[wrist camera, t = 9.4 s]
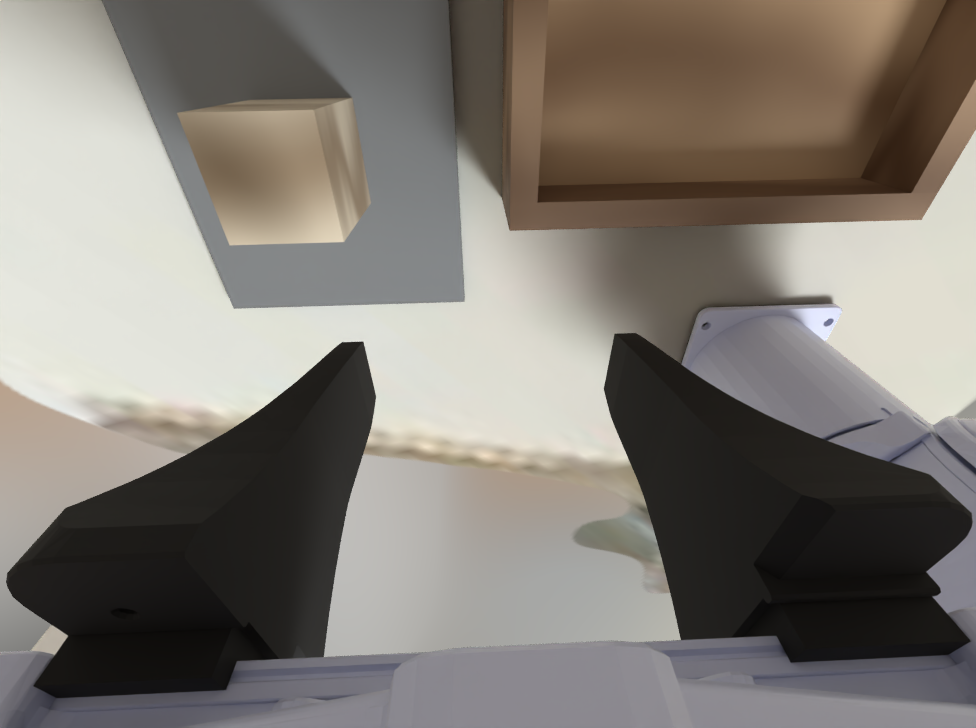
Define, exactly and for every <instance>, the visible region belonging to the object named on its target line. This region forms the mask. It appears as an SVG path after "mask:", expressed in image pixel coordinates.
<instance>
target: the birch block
mask: <svg viewBox="0 0 976 728" xmlns="http://www.w3.org/2000/svg"><path fill="white" fill-rule="evenodd" d="M177 114H178V117H179V119H180V122H181V124H182V127H183V129H184V132H185V134H186V137H187V140H188V142H189V145H190V147H191V150H192V152H193V155H194V157H195V160H196V162H197V165H198V167H199V170H200V172H201V175H202V177H203V180H204V182H205V185H206V187H207V190H208V192H209V195H210V197H211V200H212V202H213V205H214V207H215V210H216V212H217V215H218V218H219V220H220V223H221V225H222V228H223V230H224V233H225V235H226V238H227V240H228V243H229V245H260V244H295V243H330V242H344V241H345V240H346V238H347V237H348V235H349V234H350V233H351V231H352V230H353V228H354V227H355V225H356V224H357V222H358V221H359V220H360V218H361V217H362V215H363V214H364V212H365V211H366V210H367V208H368V207H369V205H370V204H371V200H370V194H369V189H368V183H367V177H366V172H365V166H364V160H363V155H362V149H361V144H360V138H359V132H358V127H357V121H356V115H355V110H354V104H353V99H352V98H315V99H269V100H247V101H241V102H235V103H230V104H224V105H218V106H213V107H207V108H201V109H196V110H190V111H185V112H179V113H177Z"/></svg>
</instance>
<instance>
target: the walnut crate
mask: <svg viewBox="0 0 976 728" xmlns="http://www.w3.org/2000/svg"><path fill="white" fill-rule="evenodd" d="M975 130H976V0H503V138H502V200H503V204H504V209H505V213H506V217H507V221H508V225H509V230H510V231H511V230H549V229H587V228H625V227H663V226H701V225H739V224H777V223H815V222H853V221H891V220H922V218H923V216H924V215H925V213H926V211H927V210H928V208H929V206H930V205H931V203H932V201H933V200H934V198H935V196H936V195H937V193H938V191H939V190H940V188H941V186H942V185H943V183H944V181H945V180H946V178H947V176H948V175H949V173H950V171H951V170H952V168H953V166H954V165H955V163H956V161H957V160H958V158H959V156H960V155H961V153H962V151H963V150H964V148H965V146H966V145H967V143H968V141H969V140H970V138H971V136H972V135H973V133H974V131H975Z"/></svg>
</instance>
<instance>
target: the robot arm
mask: <svg viewBox="0 0 976 728" xmlns="http://www.w3.org/2000/svg"><path fill="white" fill-rule="evenodd" d="M841 312H842V309H841V308H840V307H839V306H838V305H836V304H809V305H777V306H744V307H711V308H705V309H703V310H701V311H700V312H699V313H698V315H697V318H696V321H695V324H694V327H693V330H692V333H691V336H690V339H689V343H688V346H687V349H686V352H685V355H684V358H683V361H682V364H680V363H678V362H677V361H675V360H674V359H673V358H671V357H670V356H668V355H667V354H666V353H664V352H663V351H661V350H660V349H659V348H657V347H656V346H654V345H653V344H652V343H650V342H649V341H647V340H646V339H644V338H643V337H641V336H640V335H638V334H636V333H624V334H615V335H614V340H613V345H612V350H611V355H610V360H609V365H608V370H607V376H606V381H605V386H604V391H605V395H606V399H607V404H608V407H609V411H610V414H611V418H612V420H613V423H614V425H615V428H616V430H617V433H618V435H619V437H620V440H621V442H622V444H623V447H624V449H625V451H626V454H627V456H628V458H629V461H630V463H631V465H632V468H633V470H634V473H635V475H636V477H637V480H638V482H639V485H640V487H641V490H642V493H643V495H644V498H645V502H646V505H647V508H648V512H649V515H650V518H651V522H652V525H653V528H654V532H655V536H656V539H657V543H658V546H659V550H660V554H661V557H662V561H663V565H664V569H665V573H666V577H667V581H668V585H669V589H670V593H671V597H672V601H673V606H674V610H675V615H676V619H677V623H678V629H679V633H680V637H681V640H676V641H653V642H625V641H597V642H596V641H594V642H575V643H574V642H572V643H551V644H530V645H509V646H489V647H467V648H452V649H445V650H439V651H433V652H421V653H399V654H380V655H356V656H336V657H324V649H325V642H326V633H327V626H328V617H329V611H330V604H331V597H332V590H333V584H334V577H335V570H336V565H337V559H338V554H339V548H340V542H341V536H342V531H343V526H344V521H345V516H346V511H347V506H348V502H349V498H350V494H351V491H352V488H353V484H354V481H355V478H356V475H357V472H358V468H359V465H360V462H361V459H362V456H363V452H364V449H365V446H366V443H367V439H368V436H369V433H370V429H371V425H372V419H373V414H374V407H375V400H376V395H375V390H374V386H373V382H372V377H371V373H370V369H369V364H368V360H367V356H366V351H365V347H364V343H363V342H342V343H340V344H339V345H338V346H337V347H336V348H334V349H333V350H332V351H331V352H330V353H329V354H327V355H326V356H325V357H324V358H323V359H322V360H321V361H320V362H319V363H317V364H316V365H315V366H314V367H313V368H312V369H311V370H309V371H308V372H307V373H306V374H305V375H304V376H303V377H301V378H300V379H299V380H298V381H297V382H296V383H294V384H293V385H292V386H291V387H289V388H288V389H287V390H285V391H284V392H283V393H282V394H280V395H279V396H278V397H277V398H275V399H274V400H273V401H272V402H270V403H269V404H268V405H266V406H265V407H264V408H262V409H261V410H259V411H258V412H257V413H255V414H254V415H252V416H251V417H249V418H248V419H246V420H245V421H243V422H242V423H240V424H239V425H237V426H236V427H234V428H232V429H231V430H229V431H228V432H226V433H224V434H223V435H221V436H219V437H217V438H215V439H214V440H212V441H210V442H208V443H207V444H205V445H203V446H201V447H200V448H198V449H196V450H194V451H193V452H191V453H189V454H187V455H185V456H183V457H181V458H179V459H177V460H175V461H173V462H171V463H169V464H167V465H166V466H163V467H161V468H159V469H157V470H155V471H153V472H151V473H148V474H146V475H144V476H142V477H140V478H138V479H135V480H133V481H131V482H129V483H126V484H124V485H122V486H119V487H117V488H114V489H112V490H110V491H107V492H105V493H102V494H100V495H97V496H95V497H93V498H90V499H88V500H85V501H83V502H80V503H78V504H75V505H73V506H70V507H67V508H66V509H64V511H63V512H62V513H61V514H60V515H59V516H58V517H57V519H55V521H54V522H53V523H52V524H51V525H50V527H48V528H47V530H46V531H45V532H44V533H43V534H42V535H41V536H40V537H39V539H37V541H36V542H35V543H34V544H33V545H32V546H31V547H30V548H29V549H28V551H27V552H26V553H25V554H24V555H23V556H22V557H21V558H20V559H19V561H18V562H17V563H16V564H15V565H14V566H13V567H12V569H11V570H10V571H9V572H8V573H7V580H6V583H7V586H8V589H9V591H10V592H11V594H12V596H13V597H14V598H15V599H16V600H17V601H18V602H20V603H21V604H22V605H23V606H25V607H26V608H28V609H29V610H31V611H32V612H34V613H35V614H36V615H38V616H39V617H41V618H42V619H44V620H45V621H47V622H48V623H50V624H51V625H53V626H54V627H56V628H57V629H59V630H60V631H62V632H63V633H65V634H66V635H68V637H67V638H66V640H65V641H64V643H63V644H62V645H61V647H60V648H59V650H58V651H57V653H56V654H55V655H53V654H50V653H46V652H41V651H15V652H0V728H976V419H968V418H962V419H959V418H957V417H953V416H948V417H945V418H944V419H942V420H941V421H939V422H938V423H936V424H935V425H932V424H930V423H928V422H927V421H926V420H924V419H923V418H922V417H921V416H919V415H918V414H917V413H915V412H914V411H913V410H912V409H910V408H909V407H908V406H907V405H905V404H904V403H903V402H901V401H900V400H899V399H898V398H896V397H895V396H894V395H893V394H891V393H890V392H889V391H888V390H886V389H885V388H884V387H882V386H881V385H880V384H879V383H877V382H876V381H875V380H874V379H872V378H871V377H870V376H869V375H867V374H866V373H865V372H863V371H862V370H861V369H860V368H858V367H857V366H856V365H855V364H853V363H852V362H851V361H849V360H848V359H847V358H846V357H844V356H843V355H842V354H841V353H839V352H838V351H837V350H836V349H834V348H833V347H832V346H830V345H829V344H828V343H827V342H826V340H827V338H828V336H829V334H830V333H831V331H832V329H833V327H834V326H835V324H836V322H837V320H838V318H839V317H840V315H841ZM827 319H828V320H827ZM826 320H827V321H826ZM825 321H826V322H825ZM706 322H708V323H707V324H706V325H705V326H703V327H702V325H703V324H704V323H706Z"/></svg>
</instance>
